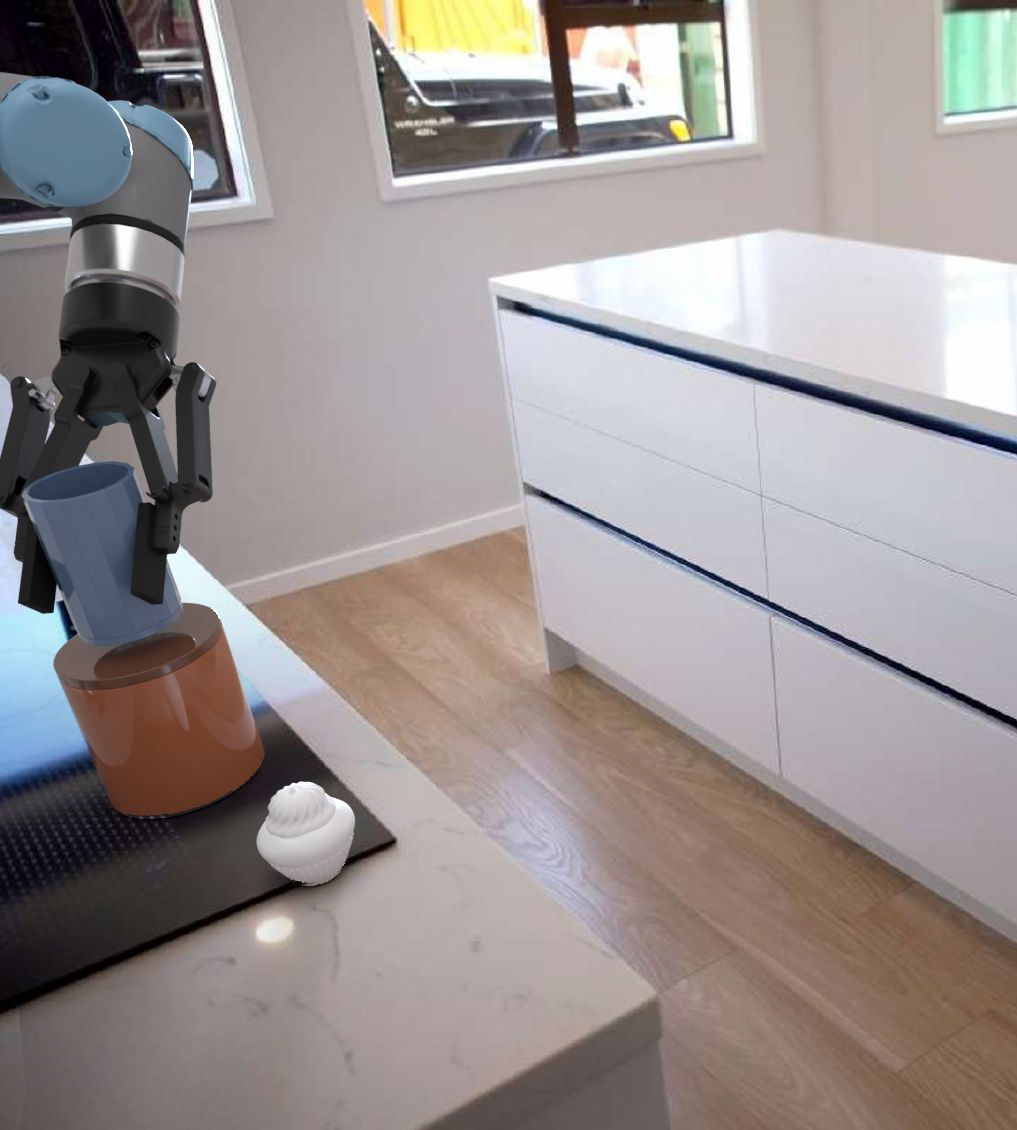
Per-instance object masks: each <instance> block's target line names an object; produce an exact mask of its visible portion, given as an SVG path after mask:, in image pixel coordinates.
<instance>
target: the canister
mask: <svg viewBox="0 0 1017 1130" xmlns="http://www.w3.org/2000/svg"><path fill="white" fill-rule="evenodd" d="M182 605H183V612H182V614H181V616H180V617H179V618H178V619H177V620H176V621H175V622H174V623H173V624H171V625H170V626H168V627H167V628H165V629H163V630H161V631H159V632H157V633H155V634H153V635H150V636H148V637H145V638H143V639H139V640H136V641H133V642H129V643H124V644H119V645H111V646H95V645H90V644H87V643H84V642H83V641H82V640H81V639H80V637H79V635H78V633H77V634H76V635H74V636H73V637H71V638H69V640H67V641H66V642H65V643H63V645H62V646H61V647H60V648H59V649H58V650H57V652H56V653H55V656H54V658H53V662H52V665H53V670H54V672H55V675H56V677H57V680H58V682H59V683H60V687H61V689H62V691H63V693H64V696H65V698H66V701H67V704H68V706H69V709H70V711H71V713H72V716H73V717H74V720H75V723H76V725H77V728H78V730H79V732H80V734H81V737H82V739H83V742H84V744H85V746H86V749H87V751H88V754H89V756H90V758H91V759H90V760H91V761H92V763H93V766H94V768H95V770H96V773H97V776H98V778H99V780H100V782H101V785H102V788H103V789H104V792H105V794H106V796H107V800H108V802H109V804H110V803H111V804H110V806H111V805H112V806H113V807H114V808H115V809H116V810H118V811H120V812H122V813H125V814H131V815H139V816H140V815H141V816H142V815H143V816H144V815H145V816H146V815H147V816H149V815H152V816H153V815H159V814H160V815H161V814H173V813H178V812H182V811H186V810H189V809H193V808H195V807H200V806H202V805H205V804H208V803H210V802H211V801H214V800H216V799H218V798H220V797H222V796H224V795H225V794H227V793H229V792H230V791H234V790H236V789H237V788H239V786H241V785H242V784H244V783H245V781H247V780H249V778H250V776H253V774H254V773H255V772H256V770H257V769H258V768H259V767H260V765H261V763H262V761H263V759H264V754H265V755H266V749H265V746H264V744H263V740H262V737H261V734H260V732H259V728H258V725H257V722H256V720H255V716H254V714H253V711H252V707H251V705H250V702H249V699H248V697H247V693H246V690H245V687H244V684H243V682H242V678H241V675H240V672H239V670H238V667H237V663H236V660H235V658H234V655H233V651H232V649H231V646H230V643H229V640H228V637H227V635H226V632H225V629H224V625H223V622H222V620H221V617H220V615H219V613H218V612H217V611H216V610H215V609H214V608H212V607H210V606H208V605H205V604H201V603H195V602H182ZM264 749H265V750H264ZM264 760H265V759H264ZM112 806H111V807H112ZM113 807H112V808H113Z"/></svg>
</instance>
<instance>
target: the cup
mask: <svg viewBox="0 0 1017 1130" xmlns="http://www.w3.org/2000/svg"><path fill="white" fill-rule="evenodd" d="M21 496H22V499H23V501H24V504H25V506H26V509H27V511H28V514H29V516H30V519H31V521H32V524H33V526H34V529H35V531H36V533H37V536H38V538H39V541H40V543H41V546H42V548H43V551H44V553H45V556H46V558H47V561H48V563H49V566H50V568H51V571H52V573H53V575H54V578H55V580H56V583H57V589H58V590H59V593H60V595H61V598H62V601H63V602H64V605H65V607H66V610H67V612H68V615H69V618H70V620H71V623H72V625H73V627H74V630H75V631H76V632H77V634H78V635H79V637H80V639H81V640H82V641H83V642H84V643H87V644H90V645H95V646H111V645H119V644H124V643H129V642H133V641H136V640H139V639H143V638H145V637H148V636H150V635H153V634H155V633H157V632H159V631H161V630H163V629H165V628H167V627H168V626H170V625H171V624H173V623H174V622H175V621H176V620H177V619H178V618H179V617H180V616H181V614H182V612H183V605H182V603H183V602H182V597H181V595H180V591H179V589H178V586H177V583H176V580H175V577H174V574H173V572H172V568H171V566H170V563H169V560H168V559H167V562H166V574H165V585H164V597H163V604H156V605H151V604H149V603H147V602H146V601H144V600H142V599H140V598H138V597H136V596H134V595H132V594H130V591H131V580H132V570H133V559H134V549H135V539H136V528H137V518H138V507H139V503H146V502H148V501H147V499H146V496H145V493H144V491H143V488H142V485H141V482H140V480H139V476H138V473H137V470H136V468H135V467H134V466H133V465H132V464H131V463H129V462H123V461H117V460H116V461H115V460H113V461H101V462H100V461H99V462H98V461H97V462H96V461H95V462H90V463H85V464H81V465H80V464H79V466H75V467H71V468H68V469H65V470H61V471H58V472H55V473H52V474H50V475H47V476H45V477H43V478H41V479H38V480H36V481H35V482H33V483H32V484H30V485H29V486H28V487H26V488H25V489H24V491H23V493H22V495H21Z"/></svg>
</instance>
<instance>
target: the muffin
mask: <svg viewBox="0 0 1017 1130" xmlns="http://www.w3.org/2000/svg"><path fill="white" fill-rule="evenodd" d="M275 793H276V794H274V795H272V797H271V798H270V803H268V806H267V810H268V815H267V816H266V817H265V820H264V822H263V823H262V825H261V827H260V828H259V830H258V832H257V836H256V848H257V851H258V852H259V854H260V856H261V857H262V858H263V859H264V860H265V861H266V862H267V863H268V864H269V865H270V866H271V868H273V869H274V870H276V871H277V872H279V873H280V874H282V875H283V876H285V877H286V878H287V879H289V878H290V879H289V880H291V881H292V880H293V879H294V880H295V881H299V882H300V881H301V882H302V883H304V882H305V883H306V882H307V883H311V882H314V883H316V882H318V881H319V882H321V881H323V880H324V879H329V877H332V876H334V874H337V873H338V871H340V870H341V868H342V866H344V864H345V865H346V863H345V861H346V862H347V860H348V856H349V853H350V849H351V847H352V843H353V840H354V835H355V832H354V830H355V826H356V817H355V813H354V811H353V809H352V808H351V806H350V805H349V804H348V803H346V802H345V801H343V800H341V799H338V798H335V797H332V796H330V795H329V794H327V793H326V792H325V790H324V788H323V787H322V786H320V785H318V784H316V783H314V782H312V781H311V782H310V781H299V782H297V783H295V782H292V783H291V784H290V785H285V786H283V788H282V789H279V790H277V791H276V792H275ZM346 859H347V860H346ZM344 867H345V866H344Z"/></svg>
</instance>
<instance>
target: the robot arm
mask: <svg viewBox="0 0 1017 1130" xmlns="http://www.w3.org/2000/svg"><path fill="white" fill-rule="evenodd" d="M193 151H194V149H193V143H192V140H191V138H190V135H189V133H188V132H187V130H186V129H185V128H184V126H183V125H182V124H181V123H179V122H178V120H176V119H175V118H174V117H173V116H171V114H168V113H167V112H164V111H163V110H161V109H159V108H157V107H155V106H151V105H149V104H144V105H135V104H133V103H132V102H130V100H121V99H120V100H110V101H107V100H106V99H105V98H104V97H102V96H101V95H100V94H99V93H97V92H95V91H93V90H92V89H90V88H88V87H86V86H83V85H81V84H78V83H76V82H75V81H74V80H70V79H66V78H60V77H55V76H47V75H36V76H31V75H25V74H24V75H23V74H17V73H9V72H3V71H0V198H1V199H12V200H21V201H24V202H27V203H30V204H32V205H36V206H38V207H40V208H42V209H44V210H46V211H49V212H51V213H56V214H59V215H61V216H64V217H67V218H69V219H70V220H71V229H70V233H69V245H68V253H67V260H66V267H65V268H66V269H65V275H64V283H63V289H64V291H65V294H64V295H63V298H62V303H61V311H60V319H59V325H58V326H59V327H58V344H59V349H60V356H59V359H58V361H57V363H56V365H55V366H54V367H53V368H52V371H51V374H50V375H47V376H43V377H40V378H36V379H33V380H29V379H28V378H26V377H25V376H22V375H19V376H16V377H14V378H12V380H11V381H10V384H9V387H10V394H11V395H10V396H11V402H12V409H11V413H10V416H9V421H8V425H7V428H6V434H5V437H4V441H3V445H2V448H1V452H0V510H2V511H3V512H6V513H8V514H9V515H11V516H13V517H15V518H17V522H16V529H15V530H16V531H15V540H14V545H13V555H14V559H15V560H16V561H18V562H20V563H21V564H22V566H21V574H20V582H19V589H18V599H17V604H18V605H21V606H23V607H25V608H29V609H31V610H33V611H35V612H37V613H40V614H42V615H46V614H55V605H56V597H57V589H58V585H57V583H56V580H55V578H54V575H53V573H52V571H51V568H50V566H49V563H48V561H47V558H46V556H45V553H44V551H43V548H42V546H41V543H40V541H39V538H38V536H37V533H36V531H35V529H34V526H33V524H32V521H31V519H30V516H29V514H28V511H27V509H26V506H25V504H24V501H23V499H22V496H21V495H22V493H23V491H24V489H25V488H26V487H28V486H29V485H30V484H32V483H33V482H35V481H36V480H38V479H41V478H43V477H45V476H47V475H50V474H52V473H55V472H58V471H61V470H65V469H68V468H71V467H75V466H80V464H81V462H82V460H83V458H84V457H85V456H84V455H85V454H86V452H87V450H88V448H89V446H90V443H91V442H92V441H95V440H97V439H98V438H99V437H100V434H101V433H102V431H103V428H104V427H108V426H112V425H115V424H119V423H122V424H127V425H129V428H130V431H131V435H132V437H133V441H134V444H135V447H136V451H137V455H138V457H139V460H140V464H141V466H142V467H141V468H142V470H143V473H144V476H145V480H146V482H147V486H148V489H149V492H148V491H146V492H145V494H146V496H148V497H149V498H150V499H152V500H153V501H154V503H152V502H151V501H147V502H146V503H139V507H138V518H137V528H136V539H135V549H134V559H133V570H132V580H131V591H130V594H132V595H134V596H136V597H138V598H140V599H142V600H144V601H146V602H147V603H149V604H151V605H156V604H163V597H164V585H165V574H166V562H167V560H168V555H177V553H178V550H179V548H180V544H181V531H182V522H183V521H182V519H183V513H184V511H185V510H186V508H187V507H189V506H190V505H193V504H195V503H197V502H199V503H207V502H209V501H210V500H211V499H212V497H213V494H214V493H213V491H214V490H213V488H214V487H213V469H212V468H213V467H212V445H211V441H212V440H211V420H210V417H211V416H210V405H211V402H212V398H213V396H214V393H215V390H216V388H217V387H216V386H217V380H216V379H215V378H214V377H213V376H212V375H211V374H210V373H209V372H208V371H207V370H205V369H204V368H203V367H202V366H201V365H200V364H199V363H197V362H195V361H189V362H187V363H186V364H184V366H182V365H176V362H175V358H176V357H177V354H178V343H179V333H180V332H179V331H180V321H181V317H180V316H181V315H180V313H179V310H180V308H181V304H182V293H183V285H184V284H183V283H184V273H185V263H186V261H185V259H186V244H187V236H188V235H187V234H188V228H189V227H188V225H189V217H190V211H191V210H190V209H191V203H192V202H191V200H192V196H193V194H194V189H195V181H194V156H193V155H194V154H193ZM172 388H173V390H174V392H175V398H174V399H175V401H174V404H175V432H176V433H175V435H176V464H177V465H175V462H174V458H173V456H172V452H171V448H170V446H169V442H168V439H167V436H166V434H165V433H166V432H165V430H166V424H165V421H164V418H163V414H162V412H161V408H160V406H159V403H160V402H161V401H162V400H163V399H164V398H165V396H166V395H167V394H168V393H169V392H170V390H171V389H172ZM59 394H60V395H61V396H62V398H61V400H60V402H59V404H58V405H57V404H56V403H55V399H56V398H57V396H58V395H59ZM56 407H57V408H56ZM55 409H56V410H55ZM54 410H55V412H54V414H53V419H54V425H53V427H52V429H51V431H50V433H49V429H50V423H51V411H54ZM48 433H49V435H48ZM176 466H177V468H176Z"/></svg>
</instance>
